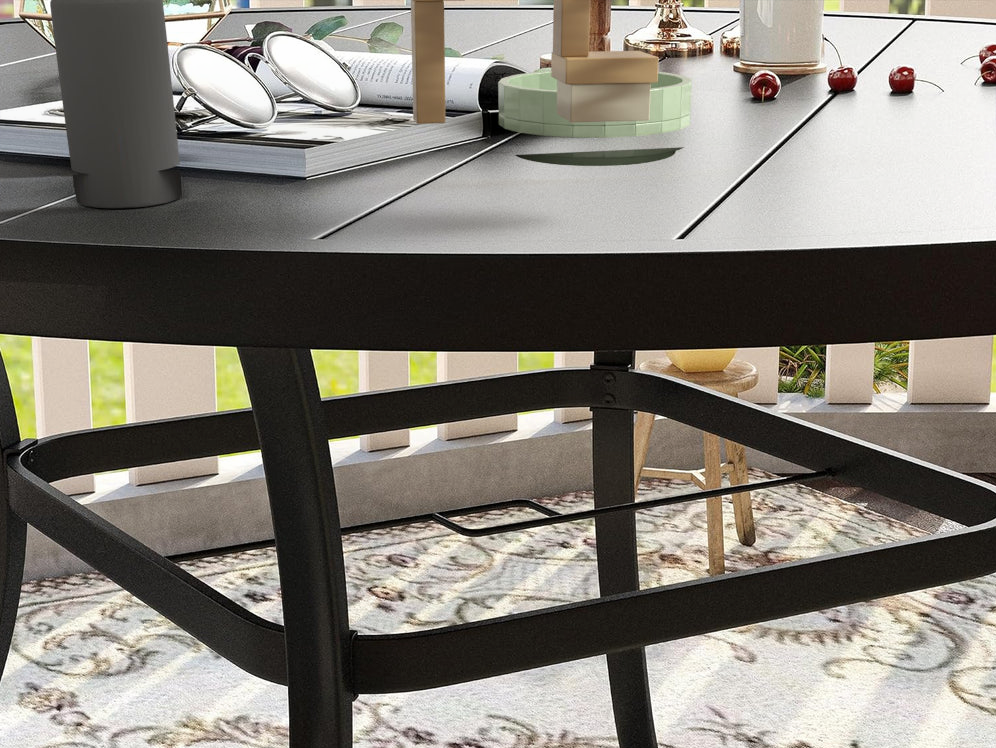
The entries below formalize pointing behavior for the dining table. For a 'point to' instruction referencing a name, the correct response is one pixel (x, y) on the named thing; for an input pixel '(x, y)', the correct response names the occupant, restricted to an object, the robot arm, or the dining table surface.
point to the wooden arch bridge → (580, 74)
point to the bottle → (117, 101)
